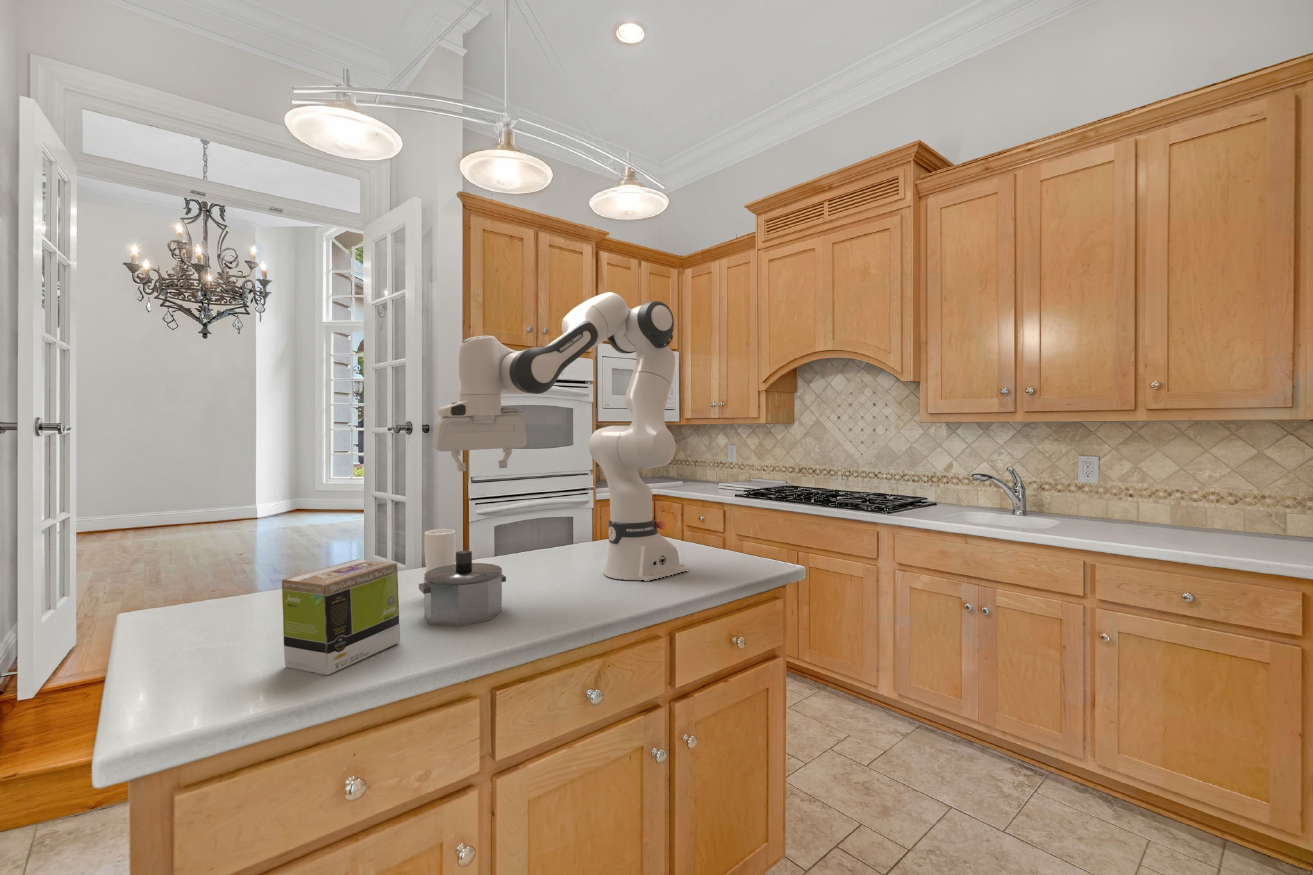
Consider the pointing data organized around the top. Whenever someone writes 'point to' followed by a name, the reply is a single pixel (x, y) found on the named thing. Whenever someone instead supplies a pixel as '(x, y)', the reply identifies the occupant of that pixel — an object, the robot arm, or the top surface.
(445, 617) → the pot
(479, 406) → the robot arm
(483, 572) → the lid
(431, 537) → the drinking glass
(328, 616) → the tea box
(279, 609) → the top surface
